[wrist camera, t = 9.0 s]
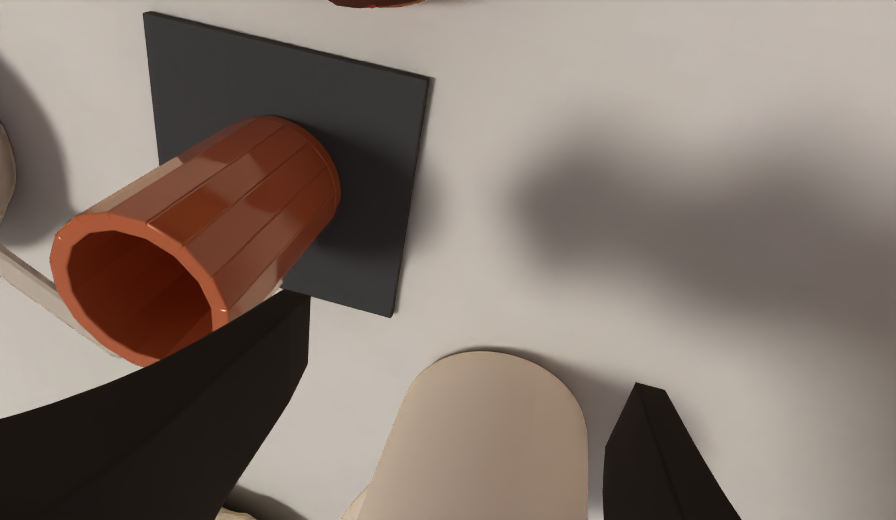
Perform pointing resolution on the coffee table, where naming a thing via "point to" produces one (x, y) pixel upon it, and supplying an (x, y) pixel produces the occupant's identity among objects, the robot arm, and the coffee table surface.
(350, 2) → the donut
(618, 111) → the coffee table surface
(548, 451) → the mug
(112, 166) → the coffee table surface
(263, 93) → the mat
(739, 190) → the coffee table surface
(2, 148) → the frying pan
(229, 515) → the decorative stone
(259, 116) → the terracotta cup
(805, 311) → the coffee table surface
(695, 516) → the robot arm
